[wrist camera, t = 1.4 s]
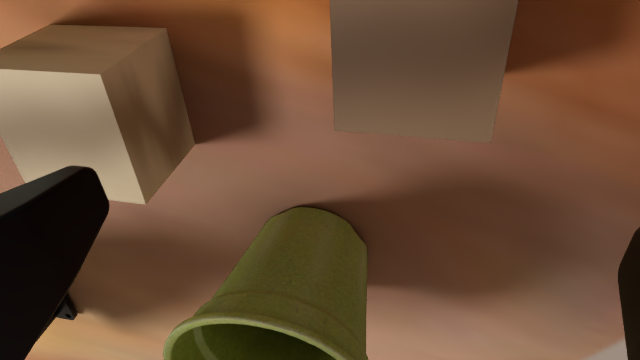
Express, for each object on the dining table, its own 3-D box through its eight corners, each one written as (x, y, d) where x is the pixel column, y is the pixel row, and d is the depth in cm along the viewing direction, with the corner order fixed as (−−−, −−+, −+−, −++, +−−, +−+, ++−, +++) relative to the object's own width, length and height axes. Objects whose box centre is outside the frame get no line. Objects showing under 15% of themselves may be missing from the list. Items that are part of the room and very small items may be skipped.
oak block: (196, 143, 24) (145, 204, 20) (94, 134, 26) (29, 190, 22) (167, 26, 21) (99, 74, 17) (51, 23, 22) (-36, 66, 18)
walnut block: (484, 75, 19) (490, 142, 15) (359, 69, 20) (334, 130, 16) (508, -65, 16) (523, -27, 12) (359, -63, 17) (328, -28, 13)
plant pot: (419, 206, 23) (402, 363, 16) (380, 318, 29) (355, 469, 22) (238, 160, 24) (153, 291, 17) (235, 278, 30) (170, 410, 23)
